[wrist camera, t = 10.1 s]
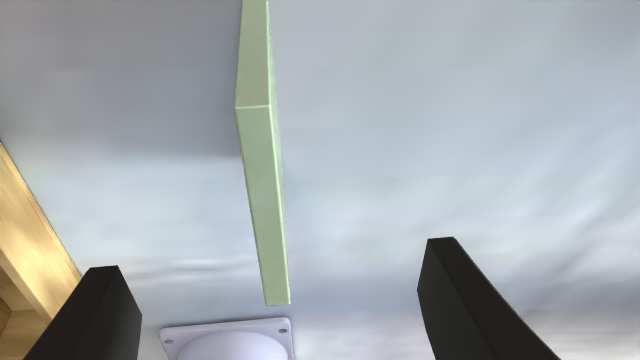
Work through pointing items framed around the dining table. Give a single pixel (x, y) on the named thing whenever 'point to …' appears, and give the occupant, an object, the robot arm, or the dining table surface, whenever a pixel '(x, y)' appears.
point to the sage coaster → (262, 148)
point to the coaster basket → (28, 266)
